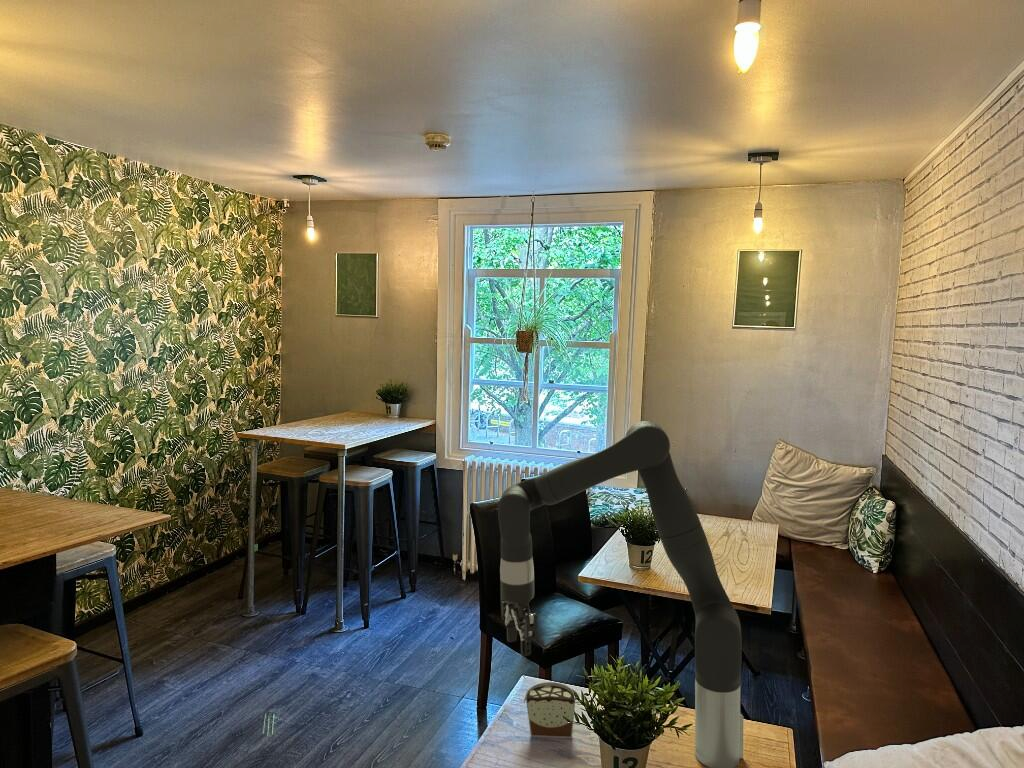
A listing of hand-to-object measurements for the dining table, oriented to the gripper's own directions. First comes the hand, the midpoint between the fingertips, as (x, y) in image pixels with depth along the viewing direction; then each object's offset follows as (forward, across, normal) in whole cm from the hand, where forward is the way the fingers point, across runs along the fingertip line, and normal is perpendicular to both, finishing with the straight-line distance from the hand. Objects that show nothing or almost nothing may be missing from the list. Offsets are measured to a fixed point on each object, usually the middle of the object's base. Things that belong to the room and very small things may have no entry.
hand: (518, 647), depth 147 cm
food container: (+22, 0, -8) cm, 23 cm away
